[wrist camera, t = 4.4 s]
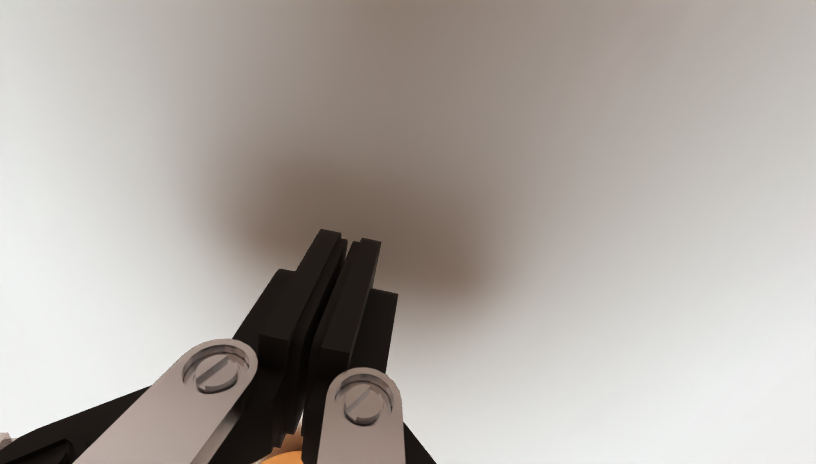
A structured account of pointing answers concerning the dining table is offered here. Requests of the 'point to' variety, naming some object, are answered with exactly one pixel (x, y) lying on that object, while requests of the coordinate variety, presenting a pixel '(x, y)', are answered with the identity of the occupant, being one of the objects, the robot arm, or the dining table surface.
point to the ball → (285, 458)
